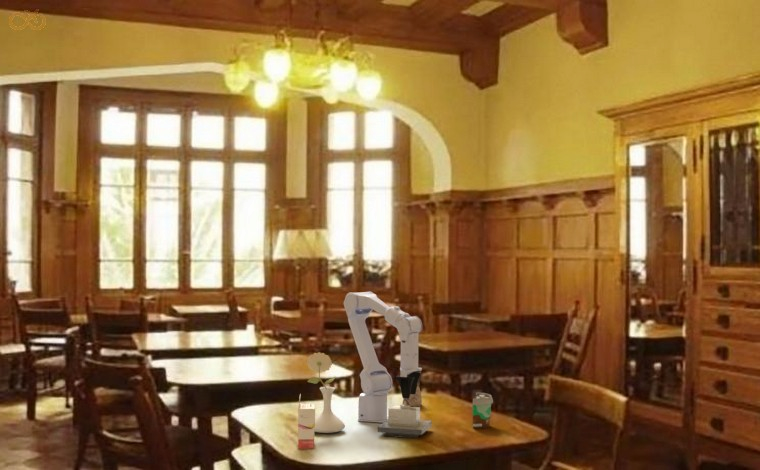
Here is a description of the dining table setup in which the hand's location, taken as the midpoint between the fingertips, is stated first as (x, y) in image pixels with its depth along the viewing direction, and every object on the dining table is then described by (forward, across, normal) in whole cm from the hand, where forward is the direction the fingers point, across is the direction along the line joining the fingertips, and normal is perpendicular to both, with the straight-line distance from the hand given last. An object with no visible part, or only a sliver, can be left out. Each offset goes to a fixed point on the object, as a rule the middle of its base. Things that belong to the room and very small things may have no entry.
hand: (409, 396), depth 274 cm
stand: (+10, -8, -1) cm, 13 cm away
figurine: (+11, +38, +9) cm, 40 cm away
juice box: (+11, -32, +22) cm, 41 cm away
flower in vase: (+11, -13, +24) cm, 29 cm away
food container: (+10, +10, -23) cm, 27 cm away
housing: (+7, -8, -1) cm, 11 cm away
